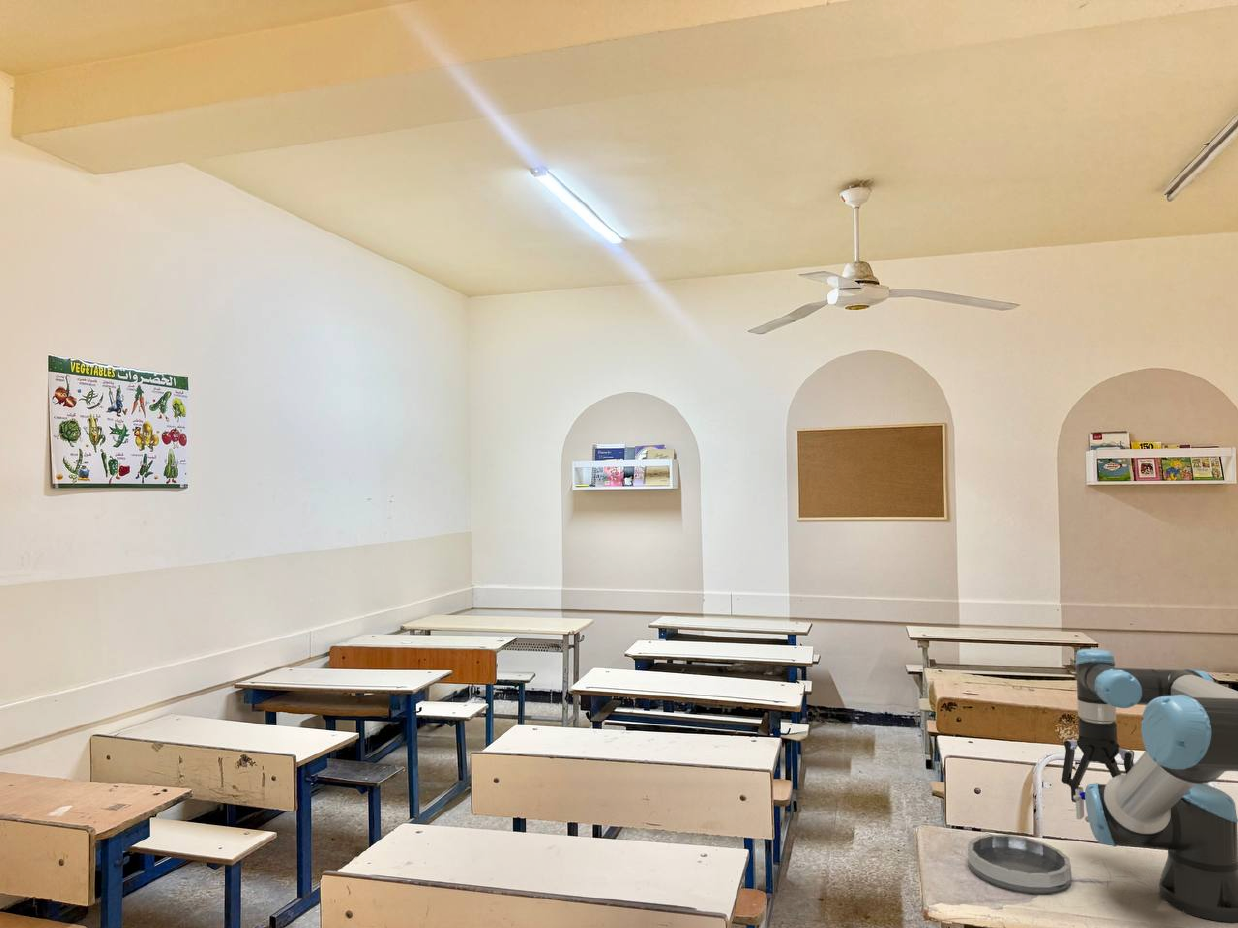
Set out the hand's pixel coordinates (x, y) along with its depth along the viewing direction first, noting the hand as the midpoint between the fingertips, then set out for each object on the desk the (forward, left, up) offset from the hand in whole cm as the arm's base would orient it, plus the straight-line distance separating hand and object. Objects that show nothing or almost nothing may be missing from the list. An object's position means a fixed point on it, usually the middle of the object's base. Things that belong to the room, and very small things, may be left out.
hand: (1101, 822), depth 181 cm
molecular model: (0, 0, -1) cm, 1 cm away
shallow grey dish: (+11, +18, -9) cm, 23 cm away
